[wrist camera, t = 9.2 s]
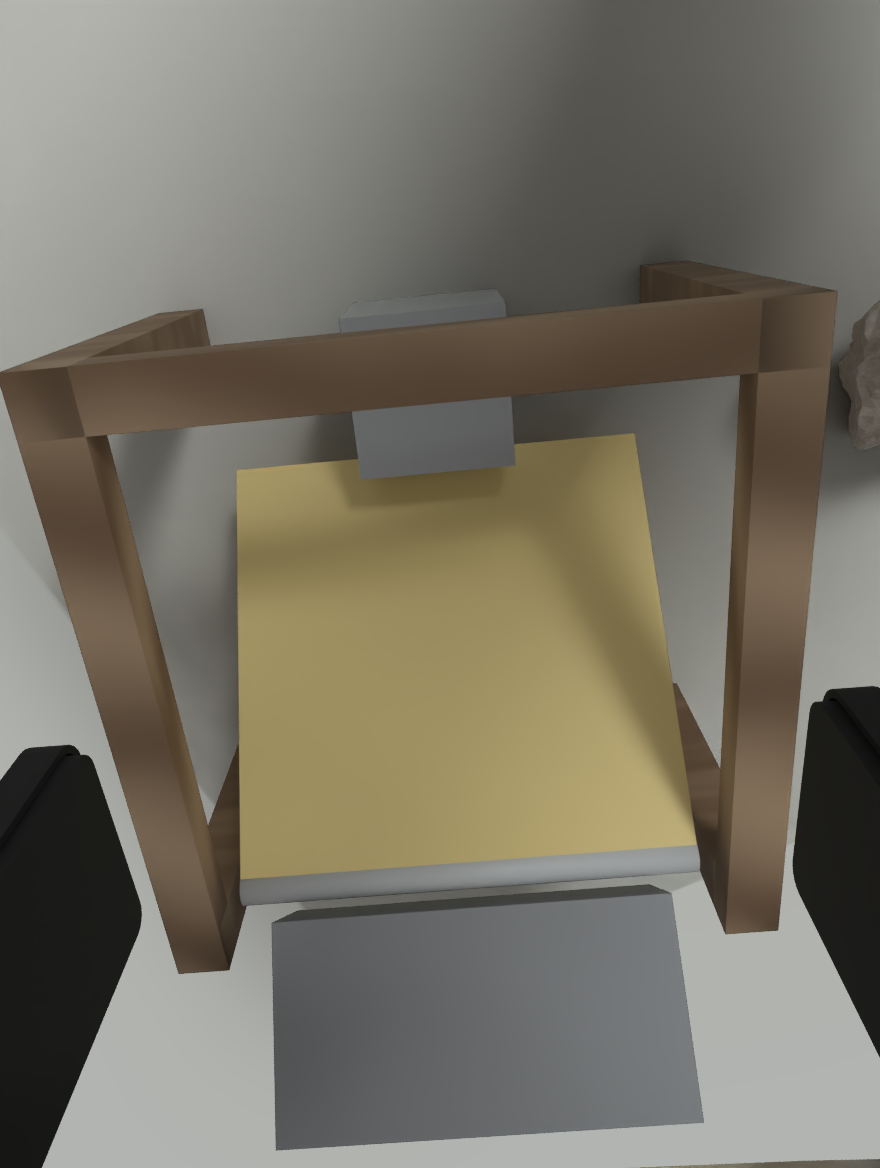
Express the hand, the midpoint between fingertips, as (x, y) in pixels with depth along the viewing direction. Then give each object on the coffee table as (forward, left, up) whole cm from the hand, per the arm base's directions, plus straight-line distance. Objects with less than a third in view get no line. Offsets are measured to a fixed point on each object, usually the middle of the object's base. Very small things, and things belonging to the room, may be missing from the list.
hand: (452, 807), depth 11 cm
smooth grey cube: (+1, 0, -20) cm, 20 cm away
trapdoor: (+11, 0, -16) cm, 19 cm away
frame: (+5, 0, -22) cm, 23 cm away
